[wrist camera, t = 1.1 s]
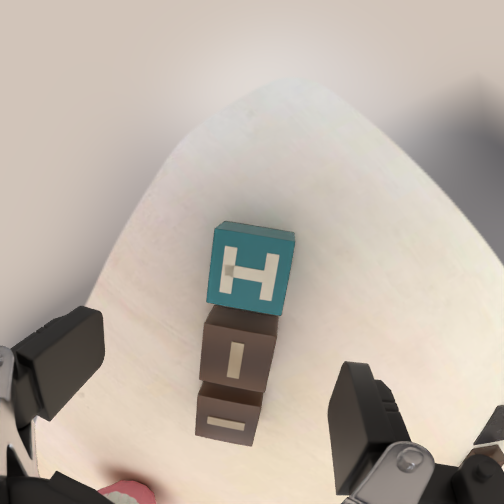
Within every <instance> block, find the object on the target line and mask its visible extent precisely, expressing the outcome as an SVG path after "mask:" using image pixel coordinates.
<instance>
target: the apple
mask: <svg viewBox="0 0 504 504" xmlns="http://www.w3.org/2000/svg"><path fill="white" fill-rule="evenodd" d="M98 492H99V493H100V494H102V495H103V496H105V497H106V498H107V499H109V500H110V501H112V502H113V503H115V504H156V501H155V496H154V493H153V492H152V491H150V490H149V489H148V487H147V486H146V485H143V484H141V483H138V482H136V481H134V480H133V481H125V480H122V481H119V482H117V483H115V484H113V485H111V486H108V487H105V488H102V489H100V490H98Z"/></svg>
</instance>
